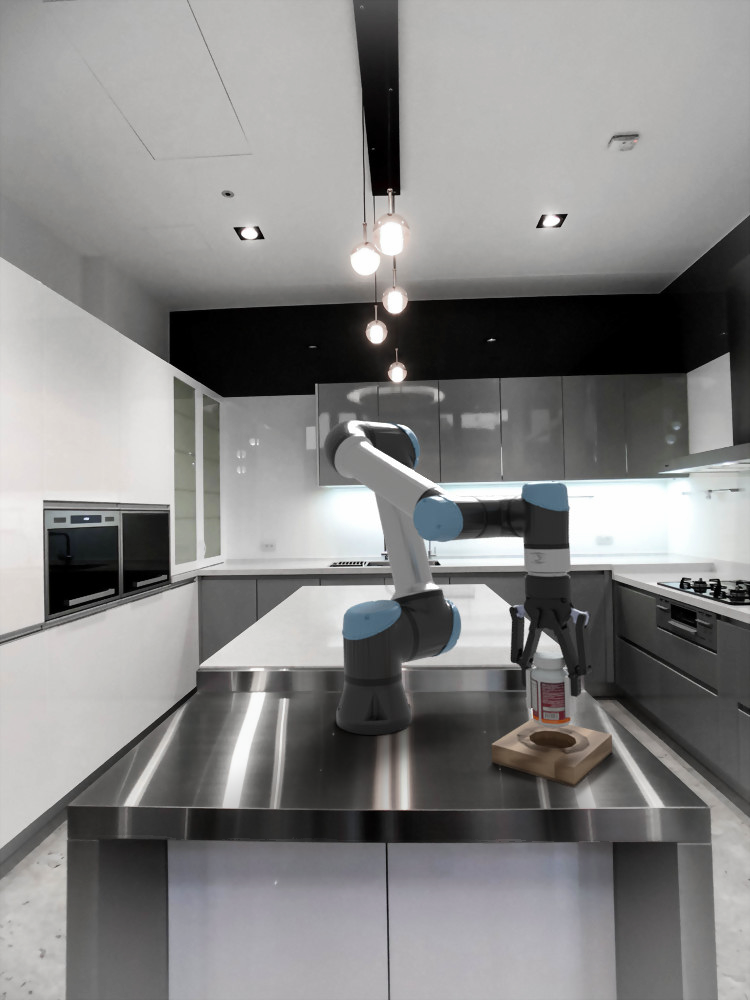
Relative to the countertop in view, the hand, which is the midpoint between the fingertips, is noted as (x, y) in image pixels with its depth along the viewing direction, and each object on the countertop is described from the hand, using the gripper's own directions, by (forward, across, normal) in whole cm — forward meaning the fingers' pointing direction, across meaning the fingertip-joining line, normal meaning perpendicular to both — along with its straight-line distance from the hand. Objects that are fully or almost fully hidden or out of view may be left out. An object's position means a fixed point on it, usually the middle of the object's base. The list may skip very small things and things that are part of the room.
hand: (551, 710), depth 97 cm
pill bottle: (+2, 0, 0) cm, 2 cm away
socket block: (+8, 0, 0) cm, 8 cm away
